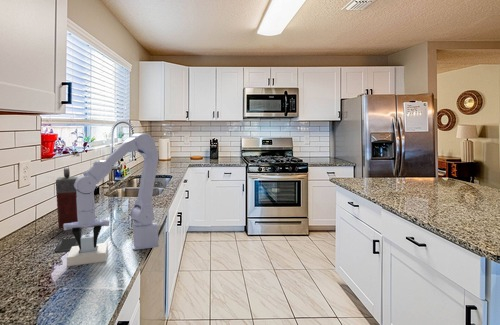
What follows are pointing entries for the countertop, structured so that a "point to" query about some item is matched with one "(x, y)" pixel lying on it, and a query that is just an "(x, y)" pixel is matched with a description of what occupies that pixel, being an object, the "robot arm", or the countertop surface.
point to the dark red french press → (66, 199)
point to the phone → (66, 245)
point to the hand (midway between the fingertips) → (88, 247)
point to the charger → (87, 243)
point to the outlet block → (87, 255)
